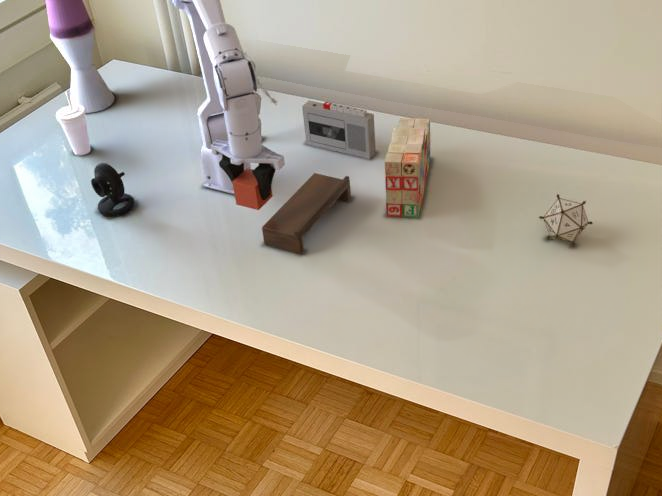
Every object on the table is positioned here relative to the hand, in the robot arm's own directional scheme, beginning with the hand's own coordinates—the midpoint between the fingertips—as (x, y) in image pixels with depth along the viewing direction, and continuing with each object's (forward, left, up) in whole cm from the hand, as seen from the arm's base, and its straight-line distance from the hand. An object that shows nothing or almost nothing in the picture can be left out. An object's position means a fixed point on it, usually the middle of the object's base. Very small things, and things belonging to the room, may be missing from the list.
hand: (253, 193), depth 162 cm
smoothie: (-54, +11, -9) cm, 56 cm away
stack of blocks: (+20, +25, -9) cm, 33 cm away
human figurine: (-19, +30, -9) cm, 36 cm away
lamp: (-67, +30, -9) cm, 74 cm away
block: (0, 0, -1) cm, 1 cm away
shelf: (+7, +7, -8) cm, 13 cm away
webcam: (-32, -4, -9) cm, 33 cm away
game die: (+53, +20, -9) cm, 57 cm away
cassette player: (0, +33, -9) cm, 34 cm away
